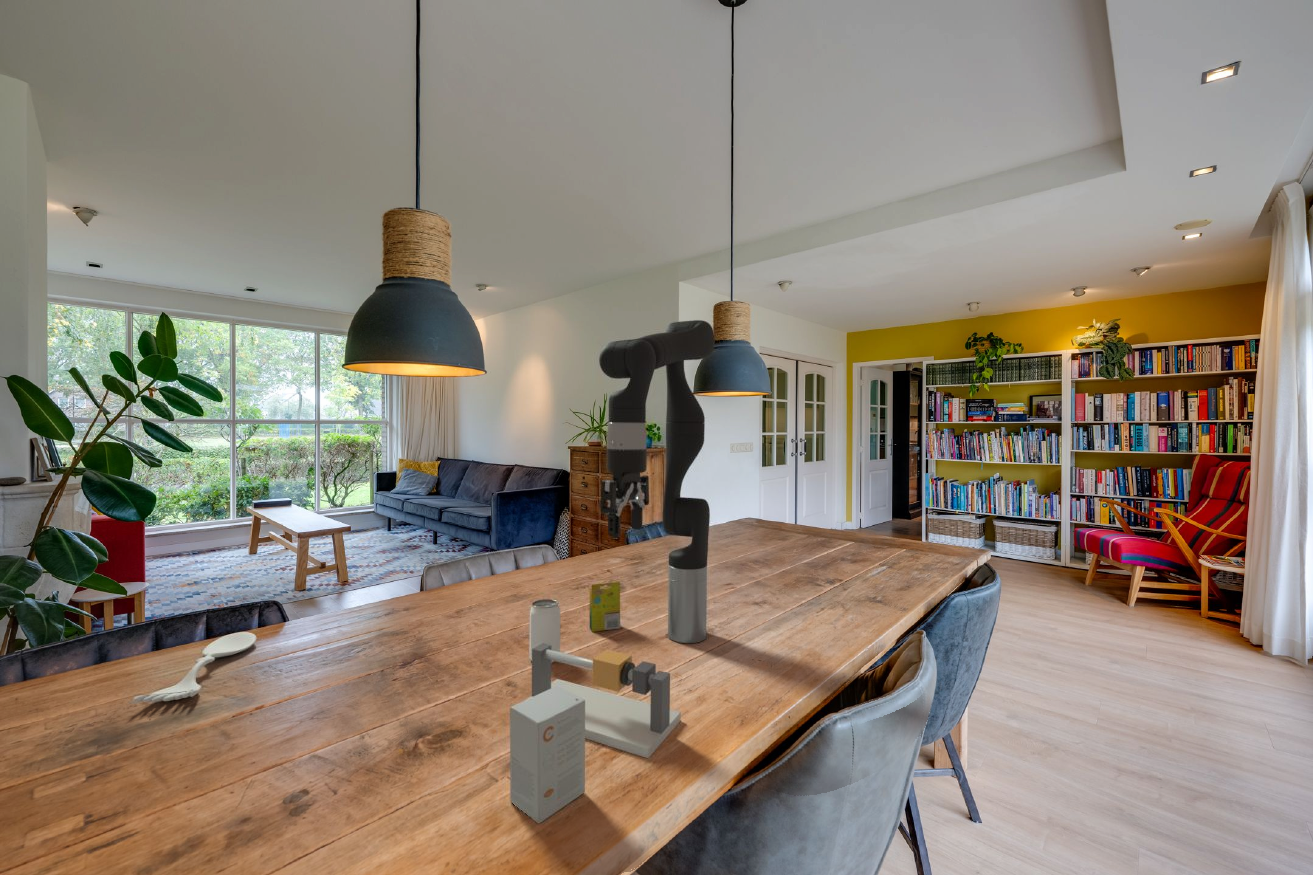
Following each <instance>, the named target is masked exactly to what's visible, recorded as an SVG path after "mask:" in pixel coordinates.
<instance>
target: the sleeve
mask: <svg viewBox="0 0 1313 875" xmlns="http://www.w3.org/2000/svg"><path fill="white" fill-rule="evenodd" d="M632 656H633V655H632V654H628V653H623V652H620V651H615V650H610V649H605V650H604V651H602V652H601V653H599V654H598V655H597V656H595V657H594V658H592V660H593V670H592V686H595V687H599V688H603V689H607V690H610V691H614V692H620V691H621V690H622V689H624V688H625V687H626V685H623V684H622V683H621V671H622V668H623V666H624V665H625V663H626V662H631V663H633V660H632V659H633V657H632Z"/></svg>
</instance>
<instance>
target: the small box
mask: <svg viewBox="0 0 1313 875" xmlns="http://www.w3.org/2000/svg"><path fill="white" fill-rule="evenodd" d="M530 697H531V696H530ZM528 698H529V697H528ZM528 698H526V699H527V700H526V699H524V700H523V701H521V702H518V703H516V704H515V705H513V706H510V707H509V726H510V727H509V741H510V742H509V747H510V748H509V750H510V752H509V754H510V758H509V761H510V762H509V764H510V765H509V770H510V771H509V772H510V774H509V775H510V776H509V779H510V780H509V781H510V782H509V784H510V788H509V789H510V790H509V791H510V792H509V794H510V795H509V797H510V798H509V799H510V803H511V802H512V803H513V804H514V805H516V806H517V807H518V808H519V809H518V808H517V807H516V806H515V807H516V808H517V809H518V810H520V811H521V810H522V811H523V812H522V811H521V812H522V813H523V814H525V813H526V814H527V815H528V817H529V816H530V817H531V818H532V819H531V818H530V817H529V818H530V819H531V820H533V821H536V823H537V824H539V825H540V824H541V823H543V822H544V821H545V820H547V819H548V818H550V817H551V816H553V815H554V814H556V813H558V811H560V810H561V809H562V808H564V807H566V806H567V805H568V804H570V803H571V802H573V801H574V800H576V799H577V798H579V797H580V796H582V795H583V794H584V793H586V738H585V700H584V699H582V698H580V697H579V696H577V695H575V694H572V693H570V692H568V691H566V690H564V689H562V688H560V687H557V686H555V687H553V688H551V689H549V690H547V691H544V692H542V693H540V694H538V695H536V696H534V697H531V698H529V699H528ZM512 803H511V804H512ZM513 804H512V805H513ZM514 805H513V806H514ZM526 814H525V815H526ZM527 815H526V816H527Z"/></svg>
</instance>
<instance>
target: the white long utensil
mask: <svg viewBox="0 0 1313 875" xmlns="http://www.w3.org/2000/svg"><path fill="white" fill-rule="evenodd" d="M257 638H258V637H257V635H256V634H254V633H252V632H247V631H239V632H234V633H230V634H227V635H223V636H220V637H219V638H218V639H216V640H214V641H212V642H211V643H209V644H208V645H206V646H205V647H204V649H203V650H201V654H202V655H203V657H200V658H198V659H196V660H195V665H194V666H192V667H191V669H190V670H189V672H188V673H187V674H186V675H185V676H184V677H183V678H182V680H180V681H179V682H178V683H176V684H174V685H172V686H169V687H167V688H163V689H159V690H156V691H155V692H151V693H149V694H143V695H142V694H141V695H137V696H134V697H133V698H132V701H131V703H133V704H136V703H141V702H143V703H149V702H152V703H158V702H162V701H163V702H169V701H174V700H177V701H178V700H180V699H186V698H188V697H190V698H191V697H194V696H195V695H196V694H198V692H199V691H200V690H201V689H202V686H201V685H200V684H198V683H197V676H198V674H199V672H200V670H201V669H202V668H203V667H204V666H206V665H207V664H210V663H212V662H214V661H215V659H216V658H222V657H223V658H224V657H228V656H234V655H237V654H238V653H241V652H244V651H246V650H247V649H249V648H250V647H251V646H253V645H254V644H255V643H256V642H257Z"/></svg>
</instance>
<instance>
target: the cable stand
mask: <svg viewBox="0 0 1313 875" xmlns="http://www.w3.org/2000/svg"><path fill="white" fill-rule="evenodd" d="M551 660H553V661H556V662H558V663H563V664H566V665H570V666H573V667H578V668H581V669H586V670H591V671H593V659H590V658H586V657H581V656H577V655H573V654H571V653H570V654H569V653H565V652H561V651H560V652H558V651H553V650H551V645H548V644H544V643H542V644H540V645H538V646H537V647H535V648H533V649H532V661H531V696H529V697H528V698H526V699H525V700H527V699H529V698H531V697H534V696H536V695H538V694H540V693H542V692H544V691H547V690H549V689H551V688H553V687H555V686H557V687H560V688H562V689H564V690H566V691H568V692H570V693H572V694H575V695H577V696H579V697H580V698H582V699H584V700H585V740H586V739H587V740H589V741H592V742H596V743H599V744H602V745H605V746H609V747H611V748H613V749H616V750H617V749H618V750H620V751H624V752H627V753H630V754H633V755H635V756H639V757H643V758H646V759H650V757H652V755H653V754H654V752H655V751H656V750H657V749H658V748H659V747H660V745H662V743H663V742H664V741H665V739H667V737H668V736H669V735H670V734H671V732H672V731H674V729H675V728H676V727H677V726H678V724H679V723H680V722H681V719H682V718H681V714H682V712H681V711H679V710H674V709H673V708H672V709H670V708H671V672H666V671H663V670H658V671H657V672H656V670H657V669H656V668H657V667H656V666H657V665H656V663H653V662H648V661H641V662H640V663H639V664H637V665H635V663H634V662H632V663H631V662H626V663H625V665H624V666H623V668H622V671H621V683H622V684H623V685H626V686H627V687H629V686H632V687H631V690H632V691H631V692H633V693H636V694H641V695H643V696H646V695H647V694H648V693H649V692H650V703H648V702H645V701H641V700H637V699H633V698H630V697H626V696H622V695H618V694H616V693H611V692H608V691H605V690H599V689H596V688H593V687H589V686H584V685H581V684H578V683H573V682H570V681H567V680H563V679H560V678H557V679H554V680H553V681H552V663H551ZM626 686H625V687H626Z"/></svg>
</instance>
